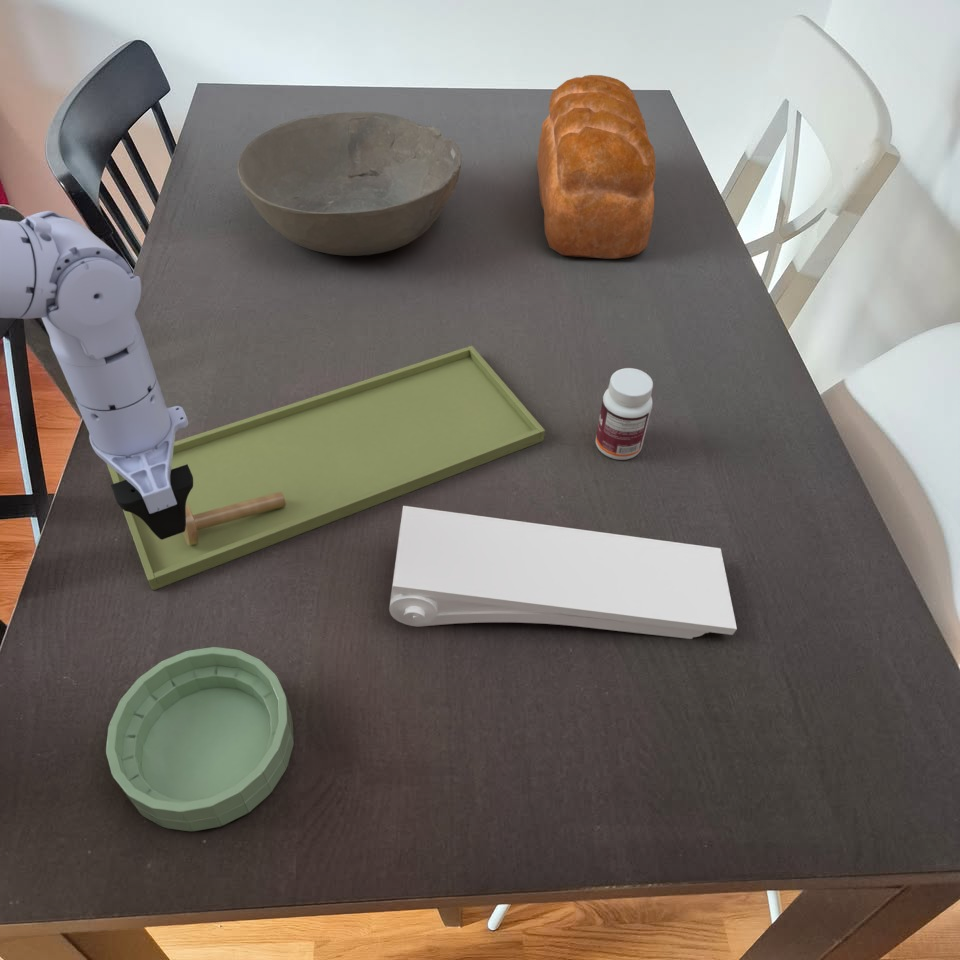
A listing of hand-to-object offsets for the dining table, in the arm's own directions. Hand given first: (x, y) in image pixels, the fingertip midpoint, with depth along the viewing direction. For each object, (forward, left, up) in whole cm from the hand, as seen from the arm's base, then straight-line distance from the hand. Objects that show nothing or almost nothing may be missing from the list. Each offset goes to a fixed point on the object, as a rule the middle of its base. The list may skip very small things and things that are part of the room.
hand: (162, 507), depth 70 cm
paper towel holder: (+1, 0, -3) cm, 3 cm away
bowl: (+36, +43, -6) cm, 56 cm away
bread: (+66, +32, -6) cm, 74 cm away
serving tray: (+17, +4, -5) cm, 18 cm away
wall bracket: (+27, -20, -6) cm, 34 cm away
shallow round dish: (-3, -19, -5) cm, 20 cm away
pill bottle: (+43, -7, -6) cm, 44 cm away
